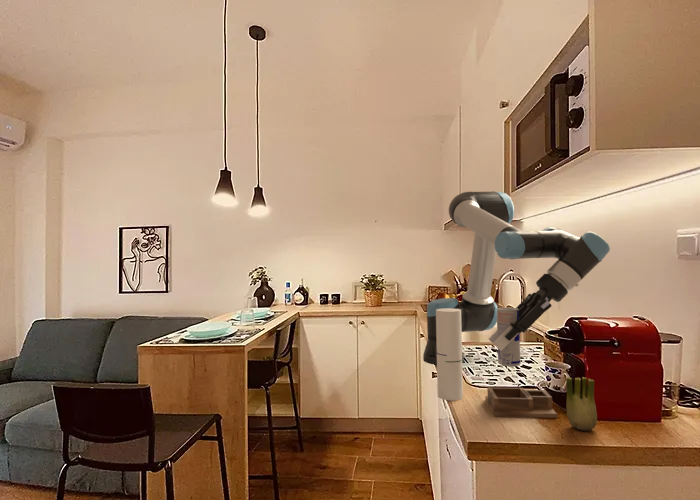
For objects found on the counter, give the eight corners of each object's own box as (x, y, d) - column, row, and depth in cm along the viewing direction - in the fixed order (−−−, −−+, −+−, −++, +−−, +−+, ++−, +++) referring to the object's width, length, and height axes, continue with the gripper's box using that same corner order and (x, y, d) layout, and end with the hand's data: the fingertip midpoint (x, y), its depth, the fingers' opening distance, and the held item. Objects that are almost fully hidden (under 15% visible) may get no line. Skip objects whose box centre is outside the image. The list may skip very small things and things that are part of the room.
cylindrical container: (444, 391, 136) (443, 307, 136) (467, 395, 132) (465, 309, 132) (433, 397, 131) (431, 310, 131) (456, 402, 126) (454, 312, 126)
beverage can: (522, 367, 117) (520, 309, 117) (500, 367, 118) (498, 309, 118) (518, 362, 123) (516, 306, 123) (496, 362, 123) (495, 307, 124)
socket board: (485, 399, 127) (485, 385, 127) (541, 400, 126) (540, 386, 126) (495, 416, 115) (494, 400, 115) (557, 417, 113) (556, 401, 113)
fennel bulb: (564, 427, 107) (563, 376, 107) (575, 422, 110) (574, 373, 110) (589, 435, 102) (588, 382, 102) (600, 429, 105) (599, 378, 105)
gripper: (582, 295, 109) (513, 363, 111) (556, 289, 128) (497, 347, 129) (558, 274, 110) (490, 341, 112) (536, 270, 128) (478, 328, 130)
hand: (494, 344), depth 121 cm, fingers closed on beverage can, 5 cm apart
